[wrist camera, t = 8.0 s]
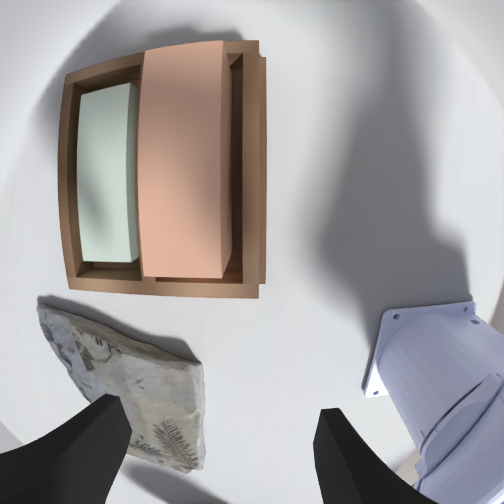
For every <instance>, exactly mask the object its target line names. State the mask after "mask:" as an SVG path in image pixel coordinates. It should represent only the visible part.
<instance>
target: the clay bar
mask: <svg viewBox="0 0 504 504" xmlns="http://www.w3.org/2000/svg"><path fill="white" fill-rule="evenodd" d="M232 125H233V77H232V73H231V69H230V66H229V62H228V58H227V54H226V51H225V47H224V43H223V40H217V41H205V42H195V43H187V44H180V45H173V46H167V47H161V48H155V49H150V50H145V56H144V64H143V73H142V83H141V95H140V108H139V127H138V205H139V225H140V239H141V252H142V262H143V272H144V276H150V277H182V278H222V277H223V274H224V272H225V269H226V266H227V264H228V261H229V259H230V256H231V253H232V251H233V214H232Z"/></svg>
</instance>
